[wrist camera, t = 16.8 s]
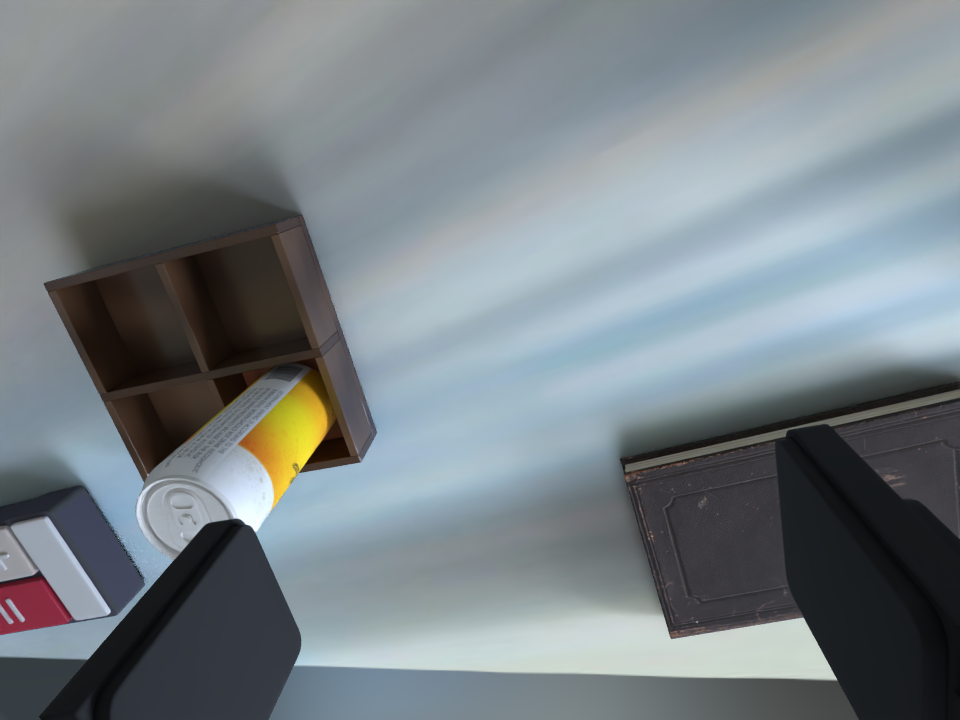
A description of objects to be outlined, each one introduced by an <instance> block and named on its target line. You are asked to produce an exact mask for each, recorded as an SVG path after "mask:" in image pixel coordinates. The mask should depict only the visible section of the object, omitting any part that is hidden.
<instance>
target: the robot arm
mask: <svg viewBox="0 0 960 720" xmlns="http://www.w3.org/2000/svg"><path fill="white" fill-rule="evenodd" d="M775 455H776V466H777V478H778V489H779V501H780V512H781V524H782V535H783V547H784V558H785V570H786V578H787V582H788V585H789V589H790V591H791V594H792V596H793V598H794V600H795V602H796V604H797V606H798V608H799V610H800V612H801V613H802V615H803V617H804V619H805V621H806V623H807V624H808V626H809V628H810V630H811V632H812V634H813V636H814V637H815V639H816V641H817V643H818V645H819V647H820V648H821V650H822V652H823V654H824V656H825V658H826V660H827V661H828V663H829V665H830V667H831V669H832V671H833V672H834V674H835V676H836V678H837V680H838V682H839V684H840V685H841V687H842V689H843V691H844V693H845V695H846V696H847V698H848V700H849V702H850V704H851V706H852V707H853V709H854V711H855V713H856V715H857V717H858V719H859V720H960V539H959V538H958V537H957V536H956V535H955V534H954V533H953V532H952V531H951V530H950V529H948V528H947V527H946V526H945V525H944V524H943V523H942V522H941V521H940V520H939V519H938V518H937V517H936V516H935V515H934V514H933V513H932V512H931V511H930V510H929V509H928V508H927V507H926V506H924V505H923V504H922V503H920V502H919V501H918V500H914V499H902V498H901V497H900V496H899V495H898V494H897V493H896V492H895V491H894V490H893V489H892V488H891V487H890V486H889V485H888V484H887V483H886V482H885V481H884V480H883V479H882V478H881V477H880V476H879V475H878V474H877V473H876V472H875V471H874V470H873V469H872V468H871V467H870V466H869V465H868V464H867V463H866V462H865V461H864V460H863V459H862V458H861V457H860V456H859V455H858V454H857V453H856V452H855V451H854V450H853V449H852V448H851V447H850V446H849V444H848V443H847V442H846V441H845V440H844V439H843V438H842V437H841V436H840V435H839V434H838V433H837V432H836V431H835V430H834V429H833V428H832V427H831V426H829V425H828V424H821V425H815V426H809V427H802V428H796V429H790V430H788V431H787V432H786V439H785V440H779V441H776V443H775ZM300 648H301V635H300V632H299V629H298V627H297V625H296V622H295V620H294V618H293V616H292V614H291V611H290V609H289V607H288V605H287V602H286V600H285V598H284V596H283V593H282V591H281V589H280V587H279V585H278V582H277V580H276V578H275V576H274V573H273V571H272V569H271V567H270V564H269V562H268V560H267V558H266V556H265V553H264V551H263V549H262V547H261V544H260V542H259V540H258V538H257V535H256V533H255V531H254V529H253V528H252V527H251V526H250V525H246V524H245V523H244V522H243V521H242V520H241V519H237V518H235V519H229V520H223V521H216V522H211V523H207V524H206V525H205V526H203V527H202V528H201V530H200V531H199V532H198V533H197V534H196V535H195V537H194V538H193V539H192V540H191V541H190V542H189V544H188V545H187V546H186V547H185V548H184V549H183V550H182V552H181V553H180V554H179V555H178V556H177V557H176V559H175V560H174V561H173V562H172V563H171V564H170V566H169V567H168V568H167V569H166V570H165V571H164V572H163V574H162V575H161V576H160V577H159V578H158V579H157V581H156V582H155V583H154V584H153V585H152V586H151V588H150V589H149V590H148V591H147V592H146V593H145V594H144V596H143V597H142V598H141V599H140V600H139V601H138V603H137V604H136V605H135V606H134V607H133V608H132V610H131V611H130V612H129V613H128V614H127V615H126V616H125V618H124V619H123V620H122V621H121V622H120V623H119V625H118V626H117V627H116V628H115V629H114V630H113V632H112V633H111V634H110V635H109V636H108V637H107V639H106V640H105V641H104V642H103V643H102V644H101V645H100V647H99V648H98V649H97V650H96V651H95V652H94V654H93V655H92V656H91V657H90V658H89V659H88V661H87V662H86V663H85V664H84V665H83V666H82V667H81V669H80V670H79V671H78V672H77V673H76V675H75V676H74V677H73V678H72V679H71V680H70V681H69V683H68V684H67V685H66V686H65V687H64V688H63V690H62V691H61V692H60V693H59V694H58V695H57V696H56V698H55V699H54V700H53V701H52V702H51V703H50V705H49V706H48V707H47V708H46V709H45V711H43V713H42V714H41V715H40V716H39V717H40V719H41V720H268V719H269V717H270V715H271V713H272V711H273V709H274V706H275V704H276V702H277V700H278V698H279V696H280V694H281V692H282V689H283V687H284V685H285V683H286V681H287V679H288V677H289V674H290V672H291V670H292V668H293V666H294V664H295V662H296V659H297V657H298V655H299V652H300Z"/></svg>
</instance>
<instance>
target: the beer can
mask: <svg viewBox="0 0 960 720" xmlns="http://www.w3.org/2000/svg"><path fill="white" fill-rule="evenodd" d="M336 418H337V417H336V415H335V412H334V409H333V406H332V404H331V401H330V398H329V395H328V393H327V390H326V387H325V384H324V382H323V379H322V376H321V374H320V373H319V372H317V371H316V370H314V369H312V368H310V367H308V366H305V365H302V364H296V363H286V364H281V365H277V366H274V367H273V368H271V369H269V370H268V371H267V372H266V373H264V374H263V375H262V376H261V377H260V378H259V379H257V380H256V381H255V382H254V383H253V384H252V385H251V386H249V387H248V388H247V389H246V390H245V391H244V392H242V393H241V394H240V395H239V396H238V397H237V398H235V399H234V400H233V401H232V402H231V403H230V404H228V405H227V406H226V407H225V408H224V409H223V410H221V411H220V412H219V413H218V414H217V415H216V416H215V417H213V418H212V419H211V420H210V421H209V422H208V423H206V424H205V425H204V426H203V427H202V428H201V429H199V430H198V431H197V432H196V433H195V434H194V435H192V436H191V437H190V438H189V439H188V440H187V441H186V442H184V443H183V444H182V445H181V446H180V447H179V448H177V449H176V450H175V451H174V452H173V453H172V454H170V455H169V456H168V457H167V458H166V459H165V460H163V461H162V462H161V463H160V464H159V465H158V466H157V467H155V468H154V469H153V470H152V471H151V472H150V474H149V475H148V476H147V478H146V480H145V482H144V485H143V489H142V492H141V493H140V495H139V497H138V499H137V503H136V518H137V522H138V525H139V527H140V529H141V531H142V533H143V535H144V536H145V538H146V539H147V540H148V541H149V543H150V544H151V545H152V546H153V547H154V548H156V549H157V550H158V551H159V552H161V553H162V554H164V555H165V556H167V557H169V558H171V559H173V560H175V559H176V557H177V556H178V555H179V554H180V553H181V552H182V550H183V549H184V548H185V547H186V546H187V545H188V544H189V542H190V541H191V540H192V539H193V538H194V537H195V535H196V534H197V533H198V532H199V531H200V530H201V528H202V527H203V526H205V525H206V524H207V523H211V522H216V521H223V520H229V519H235V518H237V519H241V520H242V521H243V522H244V523H245V524H246V525H250V526H251V527H252V528H253V529H254V531H255V533H256V531H257V530H258V529H259V527H260V526H261V524H262V523H263V522H264V520H265V519H266V517H267V516H268V515H269V513H270V512H271V510H272V509H273V508H274V506H275V505H276V504H277V502H278V501H279V499H280V498H281V497H282V495H283V494H284V492H285V491H286V490H287V488H288V487H289V485H290V484H291V483H292V481H293V480H294V479H295V477H296V476H297V474H298V473H299V472H300V470H301V469H302V467H303V466H304V465H305V463H306V462H307V460H308V459H309V458H310V456H311V455H312V454H313V452H314V451H315V449H316V448H317V447H318V445H319V444H320V442H321V441H322V440H323V438H324V437H325V435H326V434H327V433H328V431H329V430H330V429H331V427H332V426H333V424H334V422H335V420H336Z"/></svg>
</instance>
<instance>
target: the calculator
mask: <svg viewBox="0 0 960 720" xmlns="http://www.w3.org/2000/svg"><path fill="white" fill-rule="evenodd" d="M143 587H144V581H143V580H142V578H141V576H140V575H139V573H138V572H137V570H136V569H135V567H134V565H133V564H132V562H131V561H130V559H129V557H128V556H127V554H126V553H125V551H124V550H123V548H122V546H121V545H120V543H119V542H118V540H117V539H116V537H115V535H114V534H113V532H112V531H111V529H110V528H109V526H108V524H107V523H106V521H105V520H104V518H103V516H102V515H101V513H100V512H99V510H98V509H97V507H96V505H95V504H94V502H93V501H92V499H91V498H90V496H89V494H88V493H87V491H86V490H85V488H84V487H82V486H76V487H71V488H67V489H63V490H59V491H55V492H51V493H48V494H45V495H43V496H41V497H38V498H36V499H33V500H29V501H25V502H21V503H16V504H12V505H8V506H4V507H0V635H4V634H10V633H16V632H21V631H27V630H33V629H39V628H45V627H51V626H57V625H63V624H69V623H75V622H81V621H87V620H93V619H99V618H105V617H111V616H116V615H118V614H119V613H120V612H121V611H122V609H123V608H124V607H125V606H126V605H127V604H128V603H129V602H130V601H131V600H132V599H133V598H134V597H135V595H136V594H137V593H138V592H139V591H140V590H141V589H142V588H143Z"/></svg>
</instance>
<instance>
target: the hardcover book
mask: <svg viewBox="0 0 960 720" xmlns="http://www.w3.org/2000/svg"><path fill="white" fill-rule="evenodd" d="M821 424H828V425H829V426H831V427H832V428H833V429H834V430H835V431H836V432H837V433H838V434H839V435H840V436H841V437H842V438H843V439H844V440H845V441H846V442H847V443H848V444H849V446H850V447H851V448H852V449H853V450H854V451H855V452H856V453H857V454H858V455H859V456H860V457H861V458H862V459H863V460H864V461H865V462H866V463H867V464H868V465H869V466H870V467H871V468H872V469H873V470H874V471H875V472H876V473H877V474H878V475H879V476H880V477H881V478H882V479H883V480H884V481H885V482H886V483H887V484H888V485H889V486H890V487H891V488H892V489H893V490H894V491H895V492H896V493H897V494H898V495H899V496H900V497H901V498H902V499H914V500H918V501H919V502H920V503H922V504H923V505H924V506H926V507H927V508H928V509H929V510H930V511H931V512H932V513H933V514H934V515H935V516H936V517H937V518H938V519H939V520H940V521H941V522H942V523H943V524H944V525H945V526H946V527H947V528H948V529H950V530H951V531H952V532H953V533H954V534H955V535H956V536H957V537H958V538H959V539H960V382H955V383H951V384H946V385H942V386H938V387H933V388H929V389H925V390H920V391H916V392H911V393H907V394H903V395H898V396H894V397H890V398H885V399H881V400H876V401H872V402H868V403H863V404H859V405H855V406H850V407H846V408H842V409H837V410H833V411H828V412H824V413H820V414H815V415H811V416H807V417H802V418H798V419H793V420H789V421H785V422H780V423H776V424H772V425H767V426H763V427H759V428H754V429H750V430H745V431H741V432H737V433H732V434H728V435H724V436H719V437H715V438H710V439H706V440H702V441H697V442H693V443H689V444H684V445H680V446H675V447H671V448H667V449H662V450H658V451H654V452H649V453H645V454H641V455H636V456H632V457H627V458H623V459H620V460H621V464H622V467H623V471H624V476H625V480H626V483H627V487H628V490H629V494H630V497H631V501H632V505H633V508H634V512H635V515H636V519H637V522H638V526H639V529H640V533H641V536H642V540H643V543H644V547H645V550H646V554H647V557H648V561H649V564H650V568H651V571H652V575H653V578H654V582H655V585H656V589H657V592H658V596H659V599H660V603H661V607H662V610H663V614H664V617H665V621H666V624H667V628H668V631H669V635H670V637H671V638H672V639H674V638H680V637H686V636H693V635H699V634H705V633H711V632H717V631H723V630H729V629H735V628H741V627H748V626H754V625H760V624H766V623H772V622H778V621H784V620H790V619H796V618H803V615H802V613H801V612H800V610H799V608H798V606H797V604H796V602H795V600H794V598H793V596H792V594H791V591H790V589H789V585H788V582H787V578H786V570H785V558H784V547H783V535H782V524H781V512H780V501H779V489H778V478H777V466H776V455H775V443H776V441H779V440H785V439H786V432H787V431H788V430H790V429H796V428H802V427H809V426H815V425H821Z"/></svg>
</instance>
